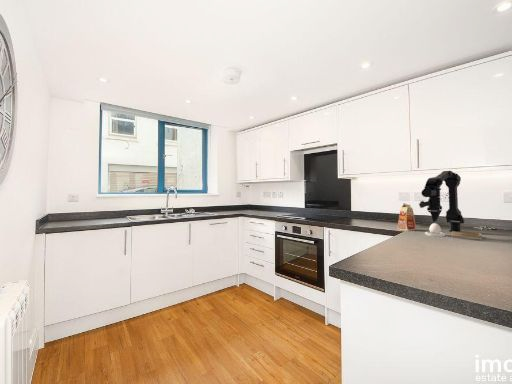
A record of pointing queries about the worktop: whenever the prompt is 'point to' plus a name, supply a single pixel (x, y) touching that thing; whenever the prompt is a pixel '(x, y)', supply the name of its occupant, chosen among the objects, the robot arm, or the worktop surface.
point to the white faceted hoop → (435, 234)
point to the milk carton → (406, 218)
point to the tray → (466, 235)
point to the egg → (435, 228)
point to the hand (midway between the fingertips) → (435, 221)
